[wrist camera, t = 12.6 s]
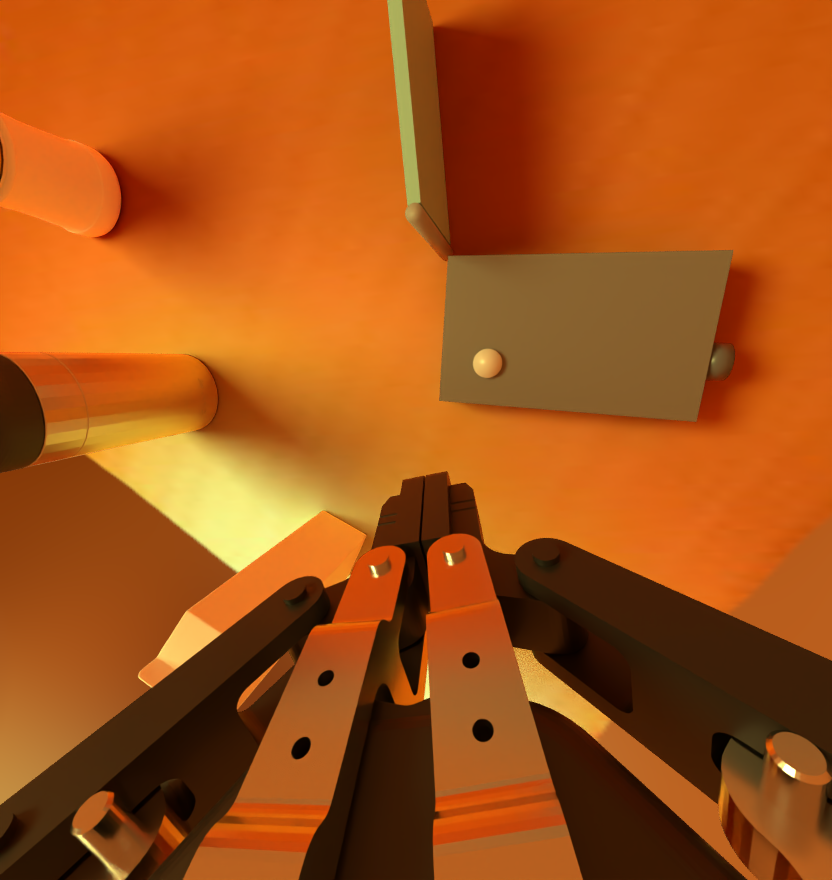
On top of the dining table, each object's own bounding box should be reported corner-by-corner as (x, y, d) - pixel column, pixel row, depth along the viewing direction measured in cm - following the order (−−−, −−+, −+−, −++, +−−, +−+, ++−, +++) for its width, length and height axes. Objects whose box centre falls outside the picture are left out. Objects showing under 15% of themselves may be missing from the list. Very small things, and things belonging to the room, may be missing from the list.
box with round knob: (447, 396, 38) (438, 401, 34) (455, 265, 35) (447, 254, 31) (701, 417, 32) (723, 424, 28) (735, 261, 29) (764, 247, 25)
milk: (323, 509, 44) (142, 639, 24) (368, 534, 43) (219, 693, 23) (307, 550, 46) (126, 704, 25) (350, 576, 45) (197, 758, 24)
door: (453, 259, 35) (423, 220, 25) (440, 261, 35) (406, 224, 25) (434, 24, 31) (391, -127, 22) (420, 29, 32) (372, -117, 22)
